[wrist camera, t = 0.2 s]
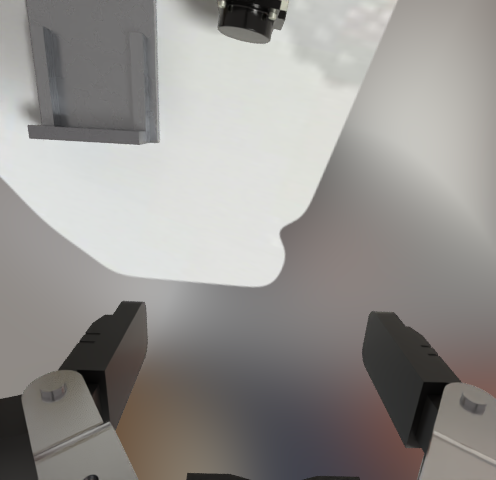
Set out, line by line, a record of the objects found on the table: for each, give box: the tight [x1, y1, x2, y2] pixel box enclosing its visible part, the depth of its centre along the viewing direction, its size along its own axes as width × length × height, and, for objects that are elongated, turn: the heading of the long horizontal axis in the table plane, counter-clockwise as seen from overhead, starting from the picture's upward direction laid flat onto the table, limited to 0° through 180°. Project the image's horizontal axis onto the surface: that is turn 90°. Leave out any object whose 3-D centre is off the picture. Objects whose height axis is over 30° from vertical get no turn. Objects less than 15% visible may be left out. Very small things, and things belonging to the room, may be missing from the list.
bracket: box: [26, 0, 160, 145], centre depth 33 cm, size 14×12×5 cm
